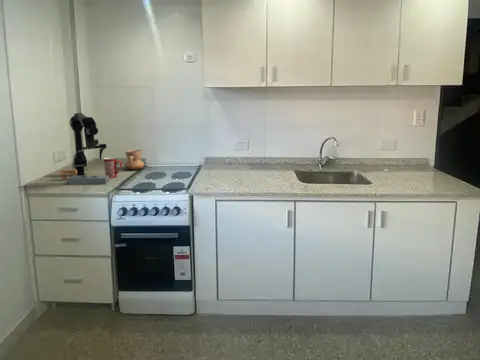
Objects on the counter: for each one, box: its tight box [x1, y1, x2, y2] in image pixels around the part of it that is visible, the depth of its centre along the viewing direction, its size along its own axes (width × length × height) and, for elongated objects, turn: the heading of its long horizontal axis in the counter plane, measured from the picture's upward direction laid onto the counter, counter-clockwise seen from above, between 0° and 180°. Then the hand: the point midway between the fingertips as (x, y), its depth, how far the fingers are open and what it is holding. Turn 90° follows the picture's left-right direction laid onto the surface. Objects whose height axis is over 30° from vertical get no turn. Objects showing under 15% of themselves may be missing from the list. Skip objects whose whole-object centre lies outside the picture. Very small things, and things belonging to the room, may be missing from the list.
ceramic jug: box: [124, 149, 145, 171], centre depth 334 cm, size 18×14×14 cm
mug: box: [102, 156, 123, 179], centre depth 308 cm, size 13×9×14 cm
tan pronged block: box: [59, 169, 77, 181], centre depth 301 cm, size 4×10×6 cm, turn 92°
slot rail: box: [67, 174, 110, 186], centre depth 292 cm, size 9×24×4 cm, turn 92°
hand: (92, 161), depth 287 cm, fingers open, 9 cm apart
